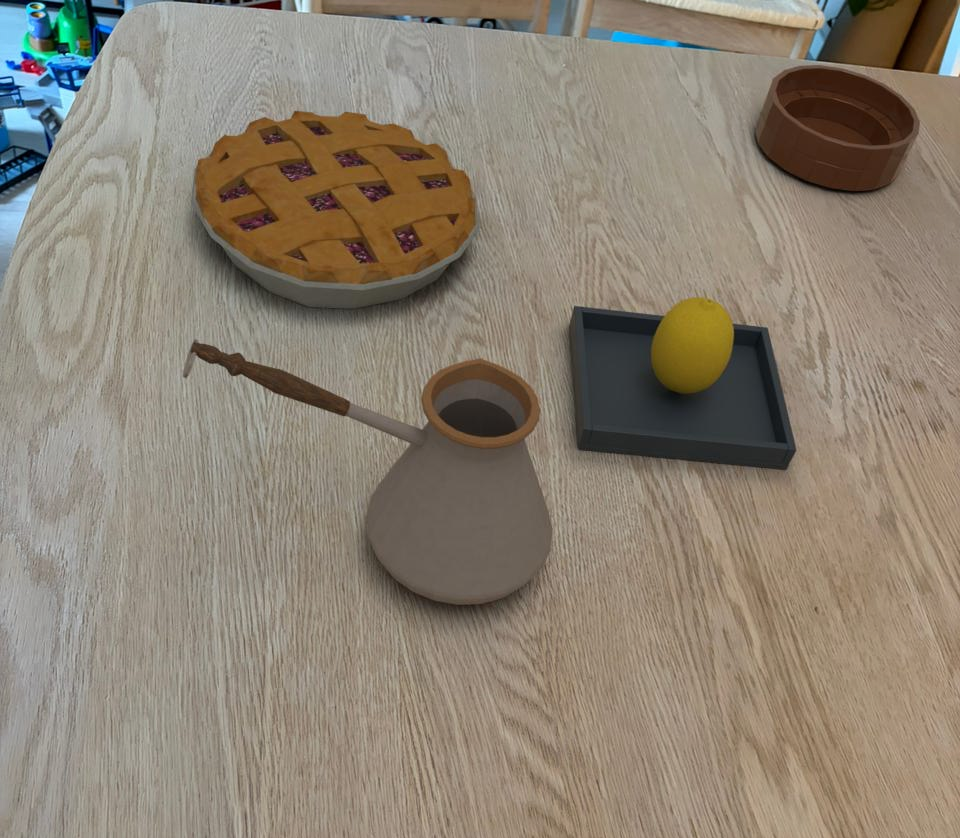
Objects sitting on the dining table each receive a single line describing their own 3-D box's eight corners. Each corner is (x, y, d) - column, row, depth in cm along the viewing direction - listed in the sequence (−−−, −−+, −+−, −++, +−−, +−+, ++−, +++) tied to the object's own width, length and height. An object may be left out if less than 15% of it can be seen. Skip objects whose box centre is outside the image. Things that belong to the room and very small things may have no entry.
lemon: (630, 400, 77) (660, 310, 71) (650, 355, 80) (680, 265, 74) (703, 426, 77) (739, 337, 70) (719, 380, 80) (756, 291, 73)
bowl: (880, 120, 107) (900, 76, 103) (913, 203, 99) (936, 157, 95) (744, 102, 105) (759, 56, 102) (766, 184, 97) (783, 137, 94)
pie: (527, 271, 85) (538, 216, 81) (289, 358, 76) (288, 300, 72) (375, 131, 94) (378, 75, 90) (144, 194, 84) (136, 134, 80)
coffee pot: (540, 494, 71) (587, 310, 59) (548, 633, 65) (603, 459, 53) (216, 466, 69) (196, 270, 57) (190, 609, 62) (161, 421, 50)
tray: (759, 347, 83) (767, 327, 82) (786, 470, 76) (797, 450, 74) (568, 326, 82) (574, 305, 80) (577, 449, 74) (583, 428, 73)
